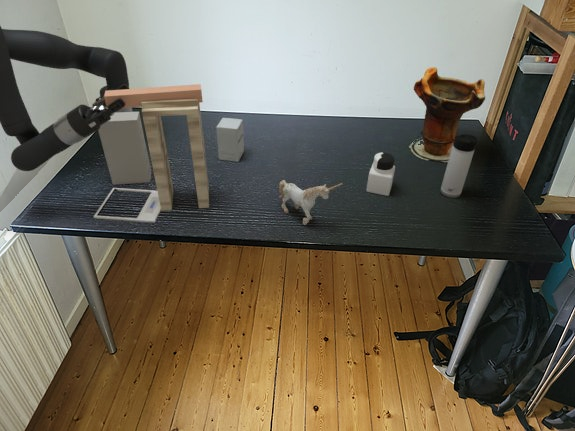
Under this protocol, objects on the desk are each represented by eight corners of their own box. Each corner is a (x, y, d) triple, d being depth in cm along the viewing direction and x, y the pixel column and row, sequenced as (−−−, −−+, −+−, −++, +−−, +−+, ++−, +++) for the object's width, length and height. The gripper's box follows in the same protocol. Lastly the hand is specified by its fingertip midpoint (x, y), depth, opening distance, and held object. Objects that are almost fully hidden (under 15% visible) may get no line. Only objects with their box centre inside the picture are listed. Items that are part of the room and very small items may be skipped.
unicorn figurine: (328, 235, 129) (331, 197, 121) (268, 213, 136) (267, 176, 128) (338, 221, 134) (342, 183, 125) (280, 201, 141) (280, 164, 133)
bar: (108, 103, 119) (105, 90, 117) (201, 96, 123) (200, 84, 121) (107, 109, 117) (104, 96, 115) (202, 102, 121) (201, 89, 119)
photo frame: (154, 220, 132) (93, 216, 133) (154, 223, 132) (94, 219, 133) (169, 190, 143) (112, 187, 144) (169, 193, 144) (113, 190, 145)
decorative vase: (470, 170, 155) (490, 91, 138) (401, 160, 162) (412, 84, 145) (471, 141, 171) (489, 67, 154) (408, 133, 177) (419, 61, 160)
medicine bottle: (392, 184, 149) (398, 152, 141) (388, 196, 144) (394, 164, 136) (370, 179, 151) (375, 148, 143) (366, 191, 145) (370, 159, 138)
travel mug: (450, 200, 142) (467, 144, 130) (436, 189, 147) (451, 134, 134) (465, 195, 145) (483, 139, 132) (450, 184, 149) (467, 129, 137)
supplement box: (239, 162, 158) (237, 129, 150) (218, 159, 159) (215, 126, 151) (244, 151, 163) (243, 119, 155) (224, 149, 164) (222, 116, 156)
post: (115, 174, 150) (99, 113, 137) (151, 172, 152) (139, 111, 138) (112, 184, 146) (95, 121, 132) (149, 182, 148) (136, 120, 134)
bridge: (163, 191, 144) (144, 89, 123) (208, 188, 145) (197, 87, 124) (161, 210, 136) (140, 106, 115) (209, 207, 138) (197, 103, 117)
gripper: (59, 127, 114) (110, 94, 110) (72, 102, 124) (119, 71, 121) (82, 149, 118) (132, 118, 115) (92, 123, 129) (138, 94, 126)
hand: (125, 94), depth 118 cm, fingers open, 8 cm apart
